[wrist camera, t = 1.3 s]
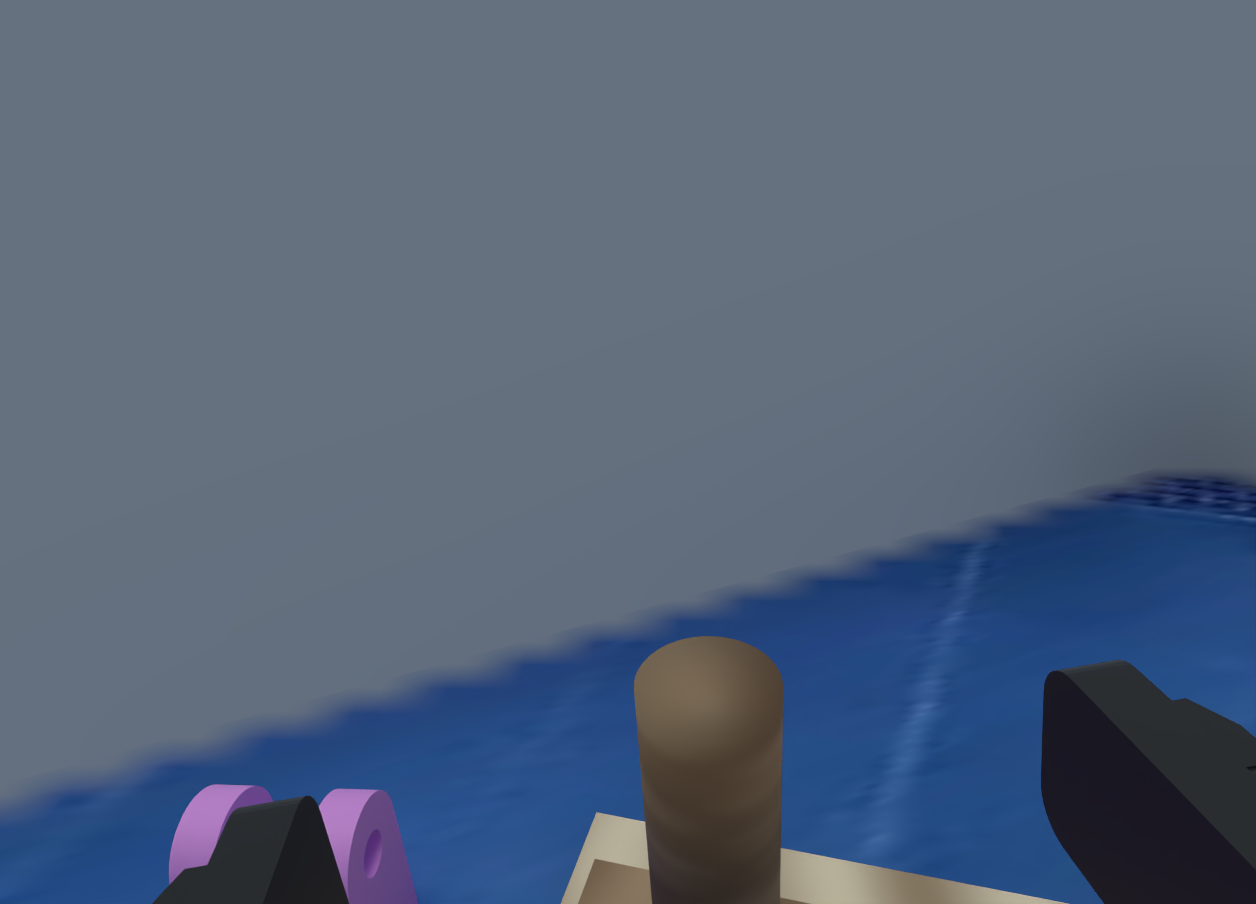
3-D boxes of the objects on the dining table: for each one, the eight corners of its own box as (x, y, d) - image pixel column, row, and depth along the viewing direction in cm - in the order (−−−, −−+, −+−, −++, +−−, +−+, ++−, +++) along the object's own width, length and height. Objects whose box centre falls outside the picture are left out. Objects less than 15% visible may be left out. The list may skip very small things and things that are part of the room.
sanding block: (533, 1116, 24) (458, 751, 18) (602, 917, 29) (560, 580, 23) (880, 1219, 22) (926, 836, 16) (889, 982, 27) (927, 624, 21)
